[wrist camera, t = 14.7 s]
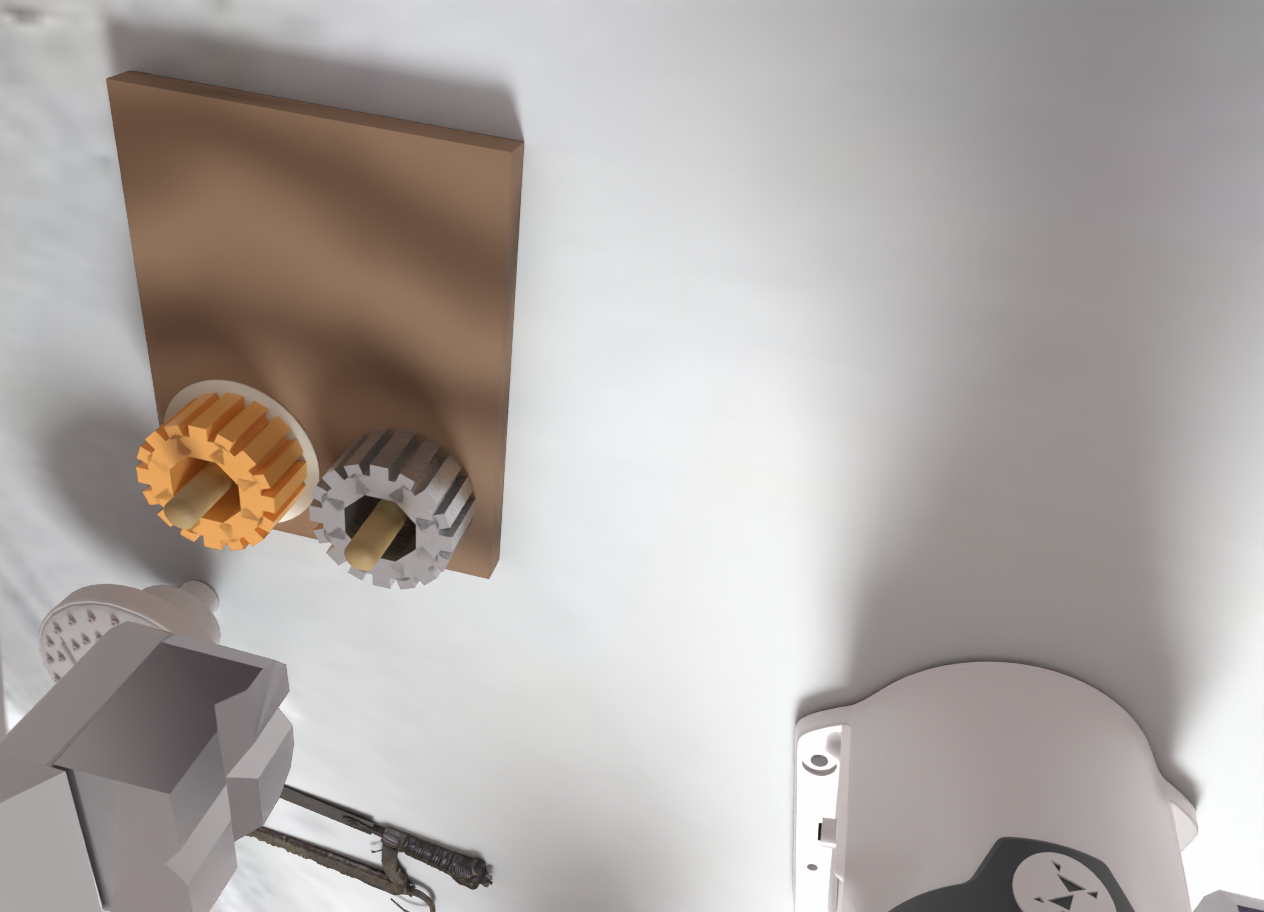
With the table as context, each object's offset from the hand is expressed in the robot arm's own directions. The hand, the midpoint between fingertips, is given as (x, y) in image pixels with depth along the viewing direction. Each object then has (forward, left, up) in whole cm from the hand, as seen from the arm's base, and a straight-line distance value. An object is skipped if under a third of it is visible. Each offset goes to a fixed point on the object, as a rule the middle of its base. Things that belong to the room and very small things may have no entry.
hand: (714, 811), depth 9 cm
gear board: (-14, +19, -31) cm, 39 cm away
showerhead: (-31, +27, -31) cm, 52 cm away
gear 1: (-20, +23, -30) cm, 42 cm away
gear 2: (-20, +15, -30) cm, 39 cm away
